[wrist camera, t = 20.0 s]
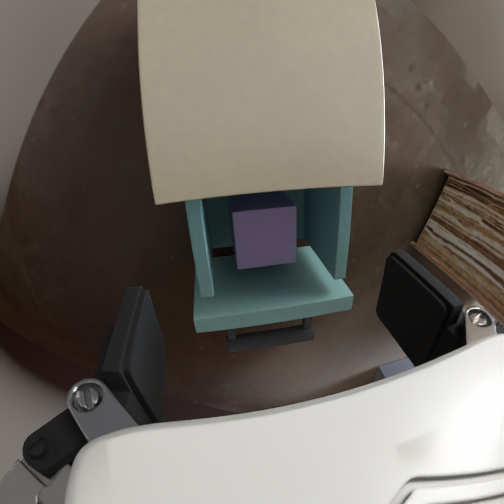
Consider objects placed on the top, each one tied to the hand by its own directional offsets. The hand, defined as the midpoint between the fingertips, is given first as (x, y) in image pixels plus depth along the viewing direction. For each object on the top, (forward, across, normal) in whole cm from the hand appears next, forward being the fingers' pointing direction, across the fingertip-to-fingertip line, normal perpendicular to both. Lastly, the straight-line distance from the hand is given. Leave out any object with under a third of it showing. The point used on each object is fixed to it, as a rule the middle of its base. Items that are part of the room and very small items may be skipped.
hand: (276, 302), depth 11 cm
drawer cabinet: (+14, -1, -10) cm, 17 cm away
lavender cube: (+12, -1, +1) cm, 12 cm away
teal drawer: (+13, -1, +2) cm, 13 cm away
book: (+14, -31, +8) cm, 35 cm away
